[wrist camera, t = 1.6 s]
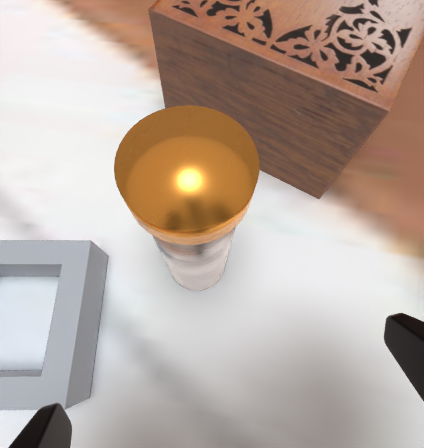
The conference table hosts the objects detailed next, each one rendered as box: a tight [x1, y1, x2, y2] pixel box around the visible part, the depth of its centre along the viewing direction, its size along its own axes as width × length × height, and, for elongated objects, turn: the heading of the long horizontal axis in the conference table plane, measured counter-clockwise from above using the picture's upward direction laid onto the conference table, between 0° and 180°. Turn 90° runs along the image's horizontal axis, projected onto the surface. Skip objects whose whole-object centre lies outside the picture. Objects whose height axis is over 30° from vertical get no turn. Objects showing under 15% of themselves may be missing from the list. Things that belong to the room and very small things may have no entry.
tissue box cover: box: [149, 0, 424, 199], centre depth 25 cm, size 26×14×10 cm, turn 150°
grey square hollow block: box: [0, 240, 108, 410], centre depth 18 cm, size 9×9×4 cm
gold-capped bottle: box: [114, 105, 259, 291], centre depth 15 cm, size 5×5×13 cm
